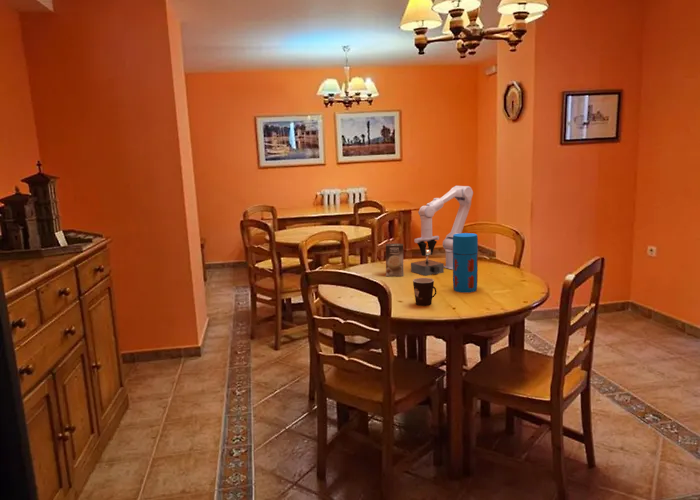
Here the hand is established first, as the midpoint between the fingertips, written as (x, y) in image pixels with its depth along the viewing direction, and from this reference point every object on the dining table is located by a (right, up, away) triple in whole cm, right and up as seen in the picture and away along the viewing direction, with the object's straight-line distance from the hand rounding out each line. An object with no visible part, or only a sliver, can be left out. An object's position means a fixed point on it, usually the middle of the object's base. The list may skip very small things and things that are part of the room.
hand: (427, 255), depth 268 cm
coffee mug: (-9, -20, -55) cm, 60 cm away
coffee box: (-17, -11, -2) cm, 20 cm away
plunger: (0, -6, +1) cm, 6 cm away
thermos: (+12, -16, -35) cm, 40 cm away
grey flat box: (0, -9, +2) cm, 9 cm away
